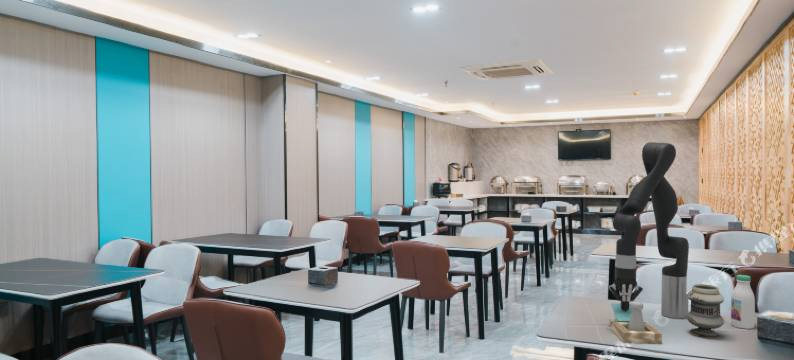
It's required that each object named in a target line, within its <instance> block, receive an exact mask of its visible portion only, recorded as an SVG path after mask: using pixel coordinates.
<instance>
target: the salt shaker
mask: <svg viewBox="0 0 794 360" xmlns="http://www.w3.org/2000/svg"><path fill="white" fill-rule="evenodd" d="M629 304H630V307H631V308H632V313H631V317H630V322H629V326H628V330H629V331H645V327H644V322H645V321H644V318H643V311H642V310H643V309H644V303H643V302H641V301H638V300H632V301H630V303H629Z"/></svg>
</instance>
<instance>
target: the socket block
mask: <svg viewBox="0 0 794 360" xmlns="http://www.w3.org/2000/svg"><path fill="white" fill-rule="evenodd" d="M609 325H610V326H611V331H612V333H613V334H614V335H616V336H617V337H618V339H620V341H622V343H626V344H627V343H628V344H656V345H657V344H659V345H662V344H663V333H661V331H659V330H658V329H656V328H655V327H654V326H652V325H651V324H650V323H649V322H646V321H644V327H645V331H629V330H628V326H629V322H617V320H616V318H609Z"/></svg>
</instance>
